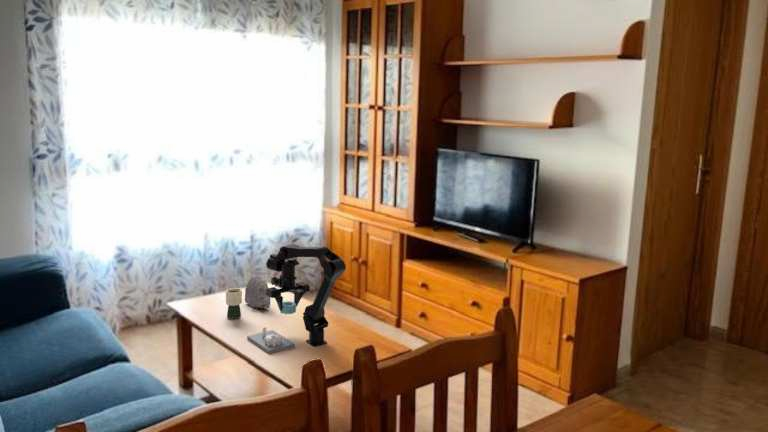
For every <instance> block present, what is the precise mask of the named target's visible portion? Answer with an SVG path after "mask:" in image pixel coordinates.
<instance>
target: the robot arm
mask: <svg viewBox="0 0 768 432" xmlns="http://www.w3.org/2000/svg"><path fill="white" fill-rule="evenodd" d="M296 258H317V259H318V261H319V265H320V266H321V268H322V269H323V280H322V282H321V284H320V286H319V289H318V292H317V294H316V296H315V298H314V301H313V303H312V304H310V305H307V306H306V307H305V309H304V312H303V313H302V315H303V316H302V320H303V322H304V327H305V330H306V331H308V339H307V340H305V341H306V343H308V344H309V345H311V346H313V347H319V346H321V345H325V344H328V341H326V340H325V328H328V326H329V321H328V320H327V318H326V316H325V315H326V314H325V313H326V312H325V306H326V303H327V301H328V300H329V296H330V295H331V293H332V290H333V288H334V286H335V283H336V282H337V280H338V279H339V278H340V277H342V275H343V274H344V272H345V270H346V267H347V265H346V263H345V261H344V260H343V259H342V258H341V257H340V256H339V255H338V254H336V253H335V252H333V251H331V249H329V247H327V246H321V247H320V246H317V247H316V246H300V245H298V244H294V243H291V244H288V245H283V246H281V247H280V248H279V250H278V253H277V254H275V253H272V254H270V255H269V257H268V259H267V262H266V264H265V265H266V268H267V269H268V270H271V271H275V272H278V273H280V272H281V274H280V275H279V278H277V276H275V277H270V284H271V285H272V286H274V287H272V286H271V287H268V288H267V290H266V295H267V296H269V297H270V299H275V301H276V303H277V304H276V305H277V306H278V310H279V311H282V304H283V302H284V297H283V296H282V294H284V293H291V292H293V302H295V303H296V308H297V307H298V305H299V304H300V301H301V299H302V298H303V296H304V295H305V294H306V293H307V292H310V291H311V286H310V284H309V283H306V282H304V281H301V282H300V281H299V282H296V280H297V276H296V266H299V265H300V262H299V261H298V260H297V259H296ZM327 259H328V260H330V261H328V260H327ZM277 287H279V288H277Z"/></svg>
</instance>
